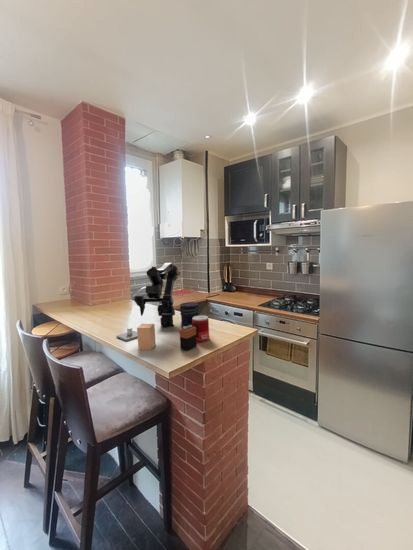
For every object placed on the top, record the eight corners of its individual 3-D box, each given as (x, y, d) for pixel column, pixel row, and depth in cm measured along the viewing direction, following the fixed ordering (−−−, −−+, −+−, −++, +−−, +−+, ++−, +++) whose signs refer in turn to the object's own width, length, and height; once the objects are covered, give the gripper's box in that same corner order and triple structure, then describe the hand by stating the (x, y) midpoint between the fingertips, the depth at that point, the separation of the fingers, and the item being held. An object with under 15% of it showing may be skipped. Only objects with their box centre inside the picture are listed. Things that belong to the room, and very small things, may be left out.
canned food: (211, 337, 127) (210, 315, 126) (206, 343, 120) (205, 320, 119) (196, 336, 130) (195, 314, 129) (190, 341, 123) (189, 319, 121)
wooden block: (143, 344, 122) (142, 323, 121) (155, 344, 121) (154, 323, 120) (138, 349, 116) (136, 327, 115) (151, 349, 115) (149, 327, 114)
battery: (179, 349, 114) (178, 327, 113) (189, 344, 119) (188, 323, 118) (187, 351, 111) (186, 328, 110) (197, 346, 117) (196, 324, 116)
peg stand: (133, 332, 141) (133, 324, 141) (143, 336, 134) (143, 327, 134) (116, 337, 134) (115, 329, 133) (126, 341, 127) (125, 332, 126)
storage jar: (203, 329, 140) (201, 302, 139) (194, 335, 131) (193, 306, 130) (187, 328, 144) (185, 301, 143) (177, 333, 135) (176, 305, 134)
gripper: (134, 279, 129) (126, 306, 119) (170, 278, 126) (165, 305, 116) (141, 292, 137) (134, 318, 127) (175, 291, 135) (171, 318, 125)
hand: (150, 315), depth 124 cm, fingers open, 9 cm apart
